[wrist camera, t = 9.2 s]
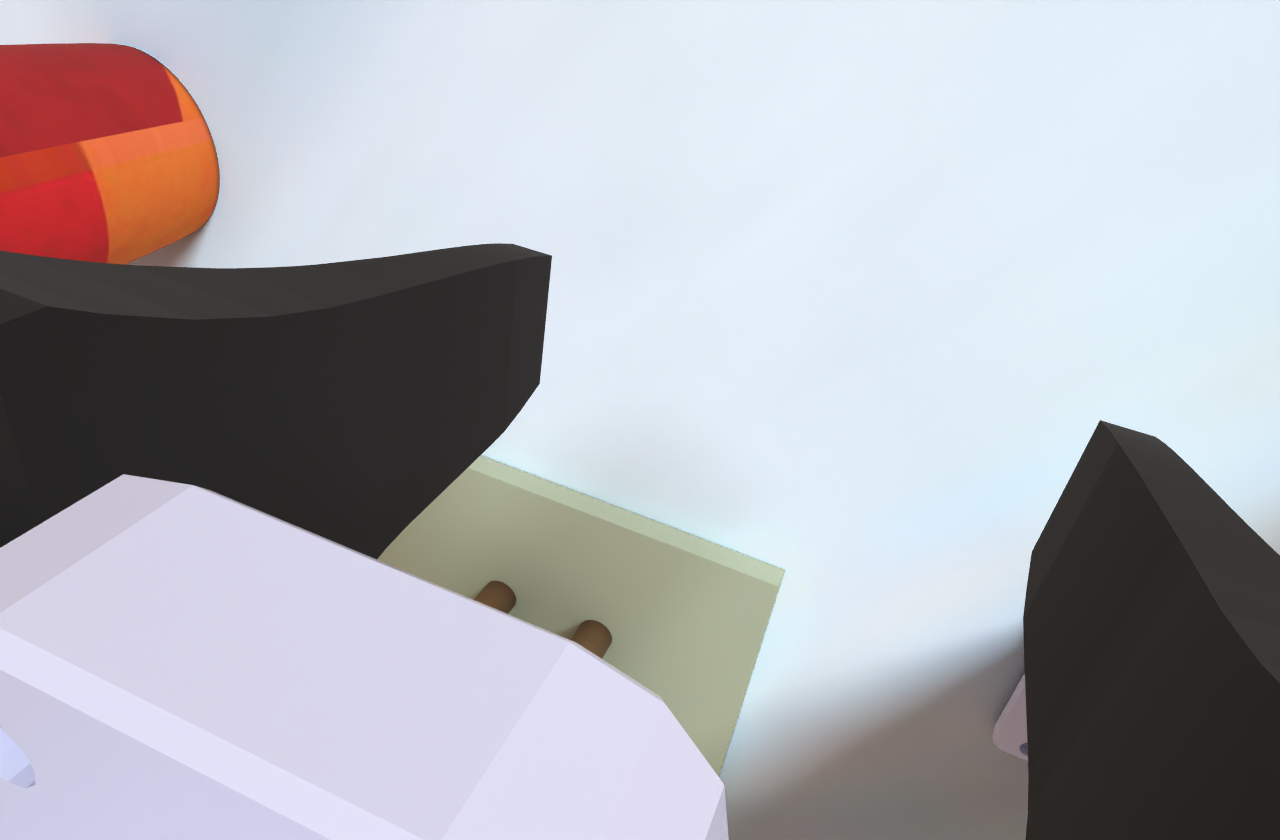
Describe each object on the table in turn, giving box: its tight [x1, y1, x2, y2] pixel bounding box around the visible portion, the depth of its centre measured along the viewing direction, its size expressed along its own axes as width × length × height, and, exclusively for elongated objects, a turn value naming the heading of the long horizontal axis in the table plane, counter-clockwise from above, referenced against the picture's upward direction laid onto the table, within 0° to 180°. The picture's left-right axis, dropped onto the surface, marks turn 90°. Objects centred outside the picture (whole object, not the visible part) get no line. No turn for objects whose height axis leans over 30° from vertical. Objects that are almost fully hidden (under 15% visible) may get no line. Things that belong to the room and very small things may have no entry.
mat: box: [377, 455, 785, 777], centre depth 31 cm, size 14×16×1 cm
